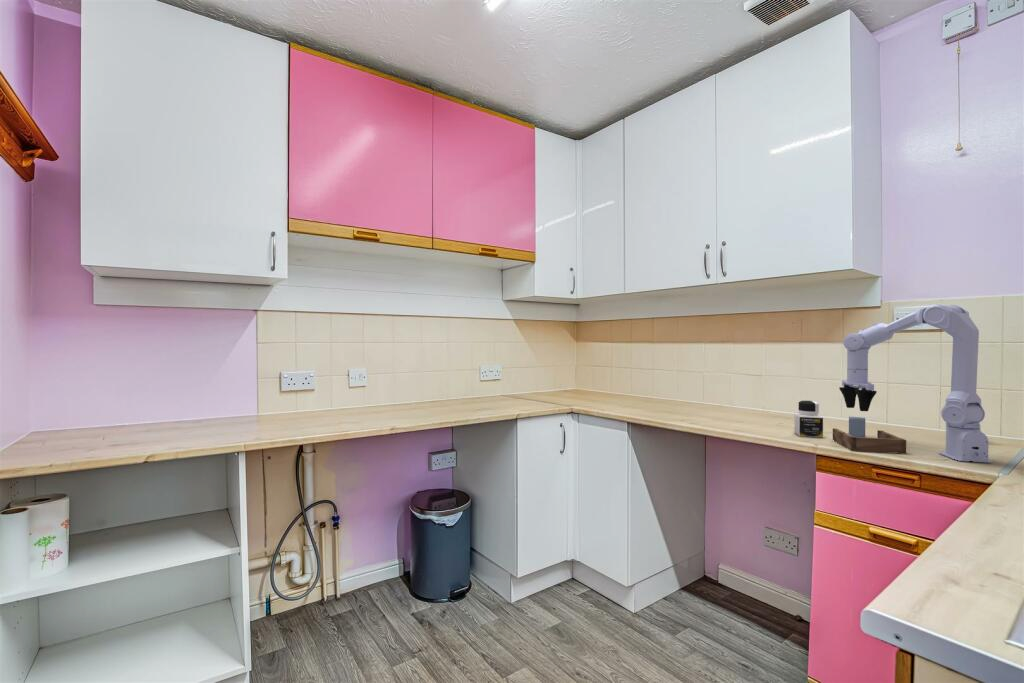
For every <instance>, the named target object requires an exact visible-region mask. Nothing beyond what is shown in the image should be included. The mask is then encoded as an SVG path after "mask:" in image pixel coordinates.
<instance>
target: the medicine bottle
mask: <svg viewBox="0 0 1024 683" xmlns="http://www.w3.org/2000/svg"><path fill="white" fill-rule="evenodd" d="M819 405H820V404H819V402H817V401H815V400H800V401H799V402H798V410H797V412H795V413H794V429H793V430H794V434H795V435H797V436H799V437H800V436H809V437H808V438H817V437H823V438H824V417H823V416H822V415H819V412H820V409H819V408H820V406H819Z"/></svg>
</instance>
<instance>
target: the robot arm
mask: <svg viewBox="0 0 1024 683" xmlns="http://www.w3.org/2000/svg"><path fill="white" fill-rule="evenodd" d="M921 324H923V325H924V324H925V325H928V326H931V327H934V328H937V329H939V330H942V331H944V332H945V333H946V334H948V335H949V336H951V337H952V352H951V353H952V354H951V358H952V359H951V378H950V379H951V380H950V392H949V394H948V396H947V397H946V398H945V404H944V406H943V407H942V409H941V412H940V414H941V418H942V420H943V421H944V422H945V451H938V452H937V453H938V454H939V455H942V456H945V457H947V458H950V459H952V460H954V459H955V461H957V460H958V461H957V462H969V461H973V463H989V464H990V463H993V460H990V459H989V438H988V436H987V435H986V434H985V433H984V432H982V430H981V424H980V423H981V422H982V421H984V419H985V417H986V412H985V410H984V408H983V406H982V399H981V397H980V396H979V395H978V394H977V386H978V385H977V382H978V364H979V359H978V358H979V356H978V355H979V339H980V338H979V336H980V335H979V334H980V332H979V328H978V327H977V326H976V324H975V322H974V320H972V318H971V317H970V312H969V311H968V310H966V309H965V308H963V307H961V306H959V305H955V304H949V305H947V304H946V305H945V304H938V303H936V304H931V305H929V306H927V307H922V308H920V309H918V310H915V311H913V312H912V313H910V314H907V315H905V316H903V317H901V318H899V319H896V320H894V321H892V322H890V323H888V324H887V323H885V322H884V323H883V322H875V323H873V324H872V326H870V327H867V328H866V329H860V330H858V333H856V332H851V333H850V332H849V334H847V335H846V336H845V337H844V339H843V342H842V343H843V346H844V348H845V349H847V350H846V351H847V352H846V355H847V356H846V358H847V359H846V364H847V365H846V380H843V379H841V386H842V387H841V386H840V387H839V388H838V389H839V391H840V393H841V394H842V396H843V400H844V402H845V407H846V409H855V406H856V399H857V398H858V407H859V411H860V412H868V411H869V409H870V406H871V403H872V401H873V398H874V397H875V395H876V394H878V393H877V392H878V391H877V390H875V384H874V383H872V382H869V374H868V373H869V350H870V349H871V348H872V347H873V346H875V345H879V344H881V343H884V342H886V341H890V340H891V339H892V338H893V337H894V335H895V333H898V332H902V331H904V330H906V329H907V330H908V329H909V328H913V327H916V326H918V325H921Z"/></svg>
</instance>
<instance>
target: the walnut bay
mask: <svg viewBox="0 0 1024 683" xmlns="http://www.w3.org/2000/svg"><path fill="white" fill-rule="evenodd" d="M876 435H877V437H866V436H865V437H854V436H851V435H849V433H847V432H845V431H843V430H841V429H838V428H835V427H834V428H832V441H833V440H834V441H833V442H835V443H836V442H837V443H836V444H838V443H839V444H838V445H841V446H842V447H844V448H845V449H847V448H848V450H850V451H852V452H865V451H867V452H868V453H883V452H897V453H896V454H902V453H906V454H907V439H905V438H902V437H899V436H897V435H894V434H892V433H889V432H886V431H884V430H878V429H877V434H876Z"/></svg>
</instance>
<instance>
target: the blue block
mask: <svg viewBox="0 0 1024 683" xmlns="http://www.w3.org/2000/svg"><path fill="white" fill-rule="evenodd" d="M848 434H849V435H851V436H854V437H865V438H866V417H857V416H848Z"/></svg>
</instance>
